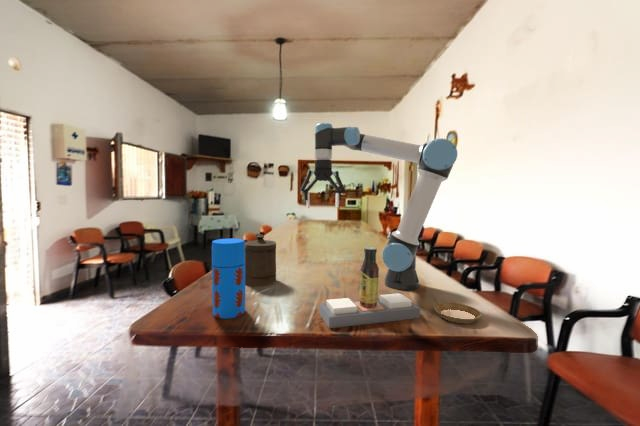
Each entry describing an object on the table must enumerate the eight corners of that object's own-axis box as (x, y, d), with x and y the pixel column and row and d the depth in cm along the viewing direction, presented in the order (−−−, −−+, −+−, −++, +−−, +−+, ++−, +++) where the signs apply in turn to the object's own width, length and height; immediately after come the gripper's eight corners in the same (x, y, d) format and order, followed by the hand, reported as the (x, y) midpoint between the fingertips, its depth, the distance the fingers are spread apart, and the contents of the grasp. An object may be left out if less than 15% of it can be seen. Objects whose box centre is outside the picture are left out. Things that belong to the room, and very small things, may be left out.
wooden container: (282, 279, 144) (282, 233, 143) (261, 288, 132) (261, 237, 130) (258, 275, 152) (258, 231, 150) (236, 282, 139) (236, 234, 137)
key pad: (401, 304, 114) (401, 295, 114) (419, 318, 103) (420, 307, 103) (318, 313, 106) (319, 303, 106) (329, 328, 94) (329, 317, 94)
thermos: (227, 321, 98) (226, 244, 96) (205, 314, 104) (204, 241, 102) (251, 310, 107) (251, 240, 106) (230, 304, 113) (230, 237, 111)
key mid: (374, 306, 109) (374, 300, 109) (384, 315, 102) (385, 308, 101) (353, 308, 107) (353, 301, 107) (362, 318, 99) (362, 310, 99)
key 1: (348, 304, 106) (348, 297, 106) (356, 313, 99) (357, 306, 99) (326, 306, 104) (326, 299, 104) (333, 316, 97) (333, 308, 96)
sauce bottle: (357, 301, 107) (358, 245, 106) (374, 301, 108) (376, 245, 106) (361, 308, 101) (363, 249, 99) (380, 308, 101) (381, 249, 100)
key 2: (399, 300, 112) (399, 293, 112) (411, 308, 104) (411, 301, 104) (379, 301, 110) (379, 295, 109) (390, 310, 102) (390, 303, 102)
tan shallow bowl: (426, 309, 111) (426, 302, 111) (464, 308, 112) (465, 301, 112) (446, 327, 97) (446, 319, 96) (490, 326, 98) (491, 318, 98)
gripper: (346, 161, 142) (345, 207, 144) (294, 159, 135) (293, 207, 137) (352, 160, 135) (351, 208, 136) (297, 157, 128) (296, 208, 130)
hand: (322, 207), depth 137 cm, fingers open, 13 cm apart
